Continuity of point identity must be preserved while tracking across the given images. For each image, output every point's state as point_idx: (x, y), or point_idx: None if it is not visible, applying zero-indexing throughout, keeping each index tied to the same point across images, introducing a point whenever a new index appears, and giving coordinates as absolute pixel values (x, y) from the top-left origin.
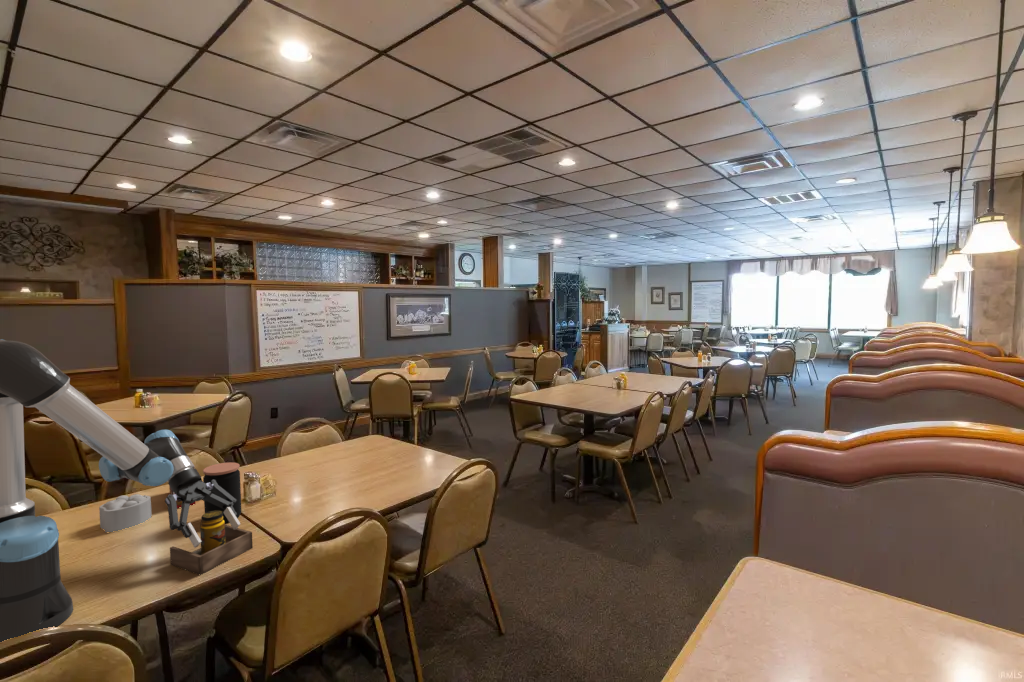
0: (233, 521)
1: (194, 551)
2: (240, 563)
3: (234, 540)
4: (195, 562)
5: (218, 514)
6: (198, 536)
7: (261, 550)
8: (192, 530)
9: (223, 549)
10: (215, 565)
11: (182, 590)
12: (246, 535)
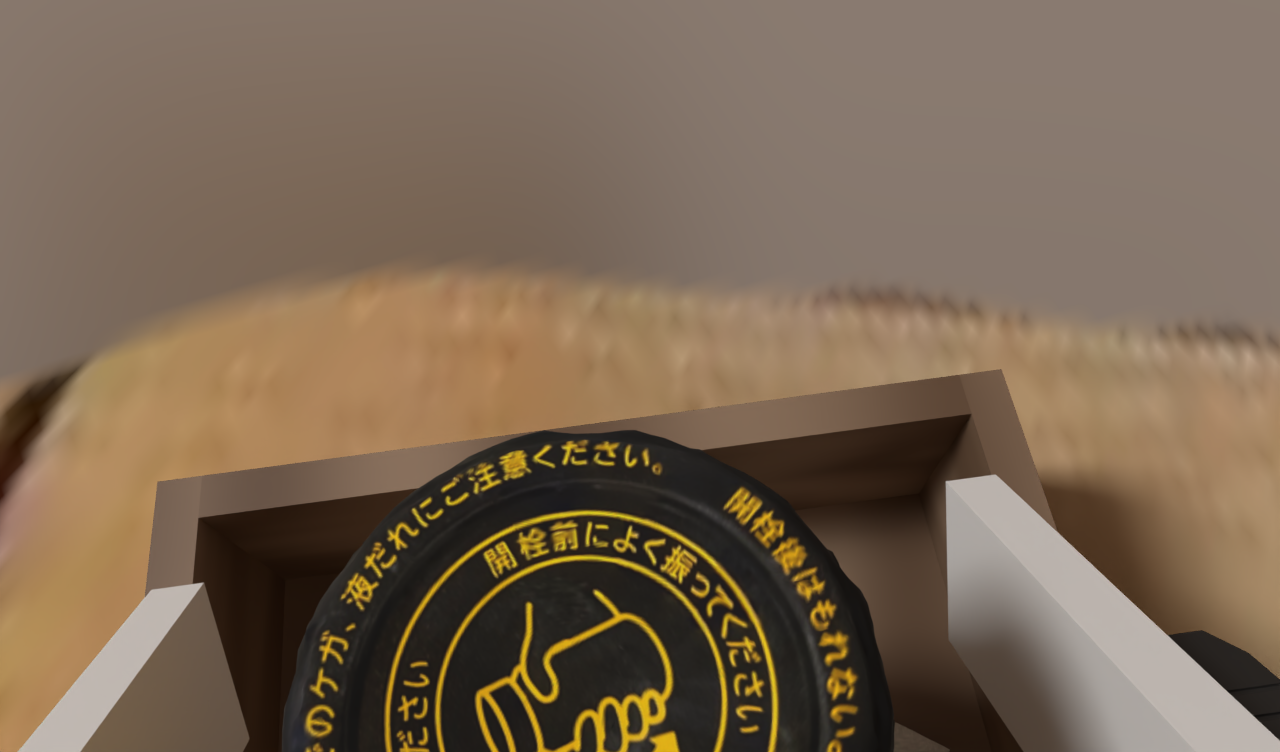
0: (167, 727)
1: None
2: (562, 348)
3: (465, 442)
4: None
5: (496, 496)
6: (1000, 530)
7: (268, 417)
8: (1141, 627)
9: None
10: None
11: (1153, 335)
12: (262, 476)
